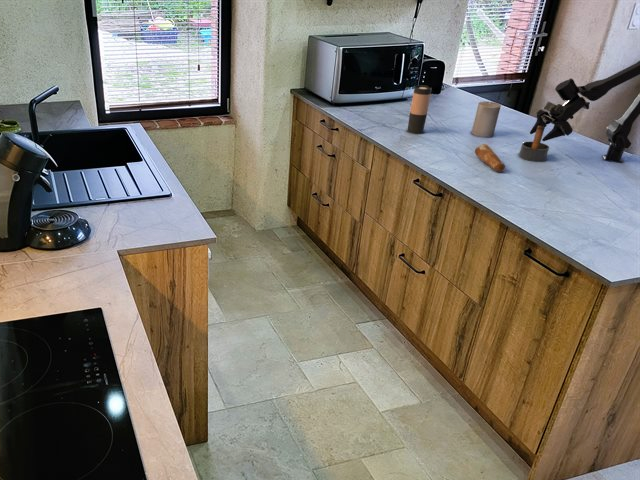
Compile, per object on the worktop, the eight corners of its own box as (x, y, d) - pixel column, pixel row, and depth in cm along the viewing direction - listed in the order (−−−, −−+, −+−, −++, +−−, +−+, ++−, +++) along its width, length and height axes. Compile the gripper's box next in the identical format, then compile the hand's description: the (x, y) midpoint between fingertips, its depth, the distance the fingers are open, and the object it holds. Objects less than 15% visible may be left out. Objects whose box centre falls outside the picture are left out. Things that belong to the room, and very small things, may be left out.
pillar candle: (482, 130, 279) (490, 97, 271) (498, 136, 272) (506, 102, 263) (466, 132, 275) (474, 99, 267) (482, 138, 268) (490, 105, 260)
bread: (487, 156, 248) (490, 143, 245) (506, 173, 232) (509, 159, 229) (472, 156, 247) (475, 143, 244) (490, 173, 231) (493, 159, 228)
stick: (529, 154, 249) (537, 124, 242) (536, 155, 248) (545, 125, 242) (528, 156, 247) (537, 126, 240) (536, 157, 246) (545, 127, 239)
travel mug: (405, 132, 273) (413, 88, 263) (408, 128, 279) (415, 84, 268) (422, 134, 271) (430, 90, 260) (424, 130, 277) (433, 86, 266)
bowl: (519, 151, 254) (522, 140, 251) (545, 155, 250) (549, 143, 248) (518, 159, 246) (521, 147, 243) (545, 163, 242) (549, 151, 240)
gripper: (547, 89, 242) (515, 117, 247) (575, 101, 227) (540, 130, 232) (559, 108, 248) (527, 135, 252) (587, 121, 232) (552, 149, 237)
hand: (536, 137), depth 243 cm, fingers open, 9 cm apart
